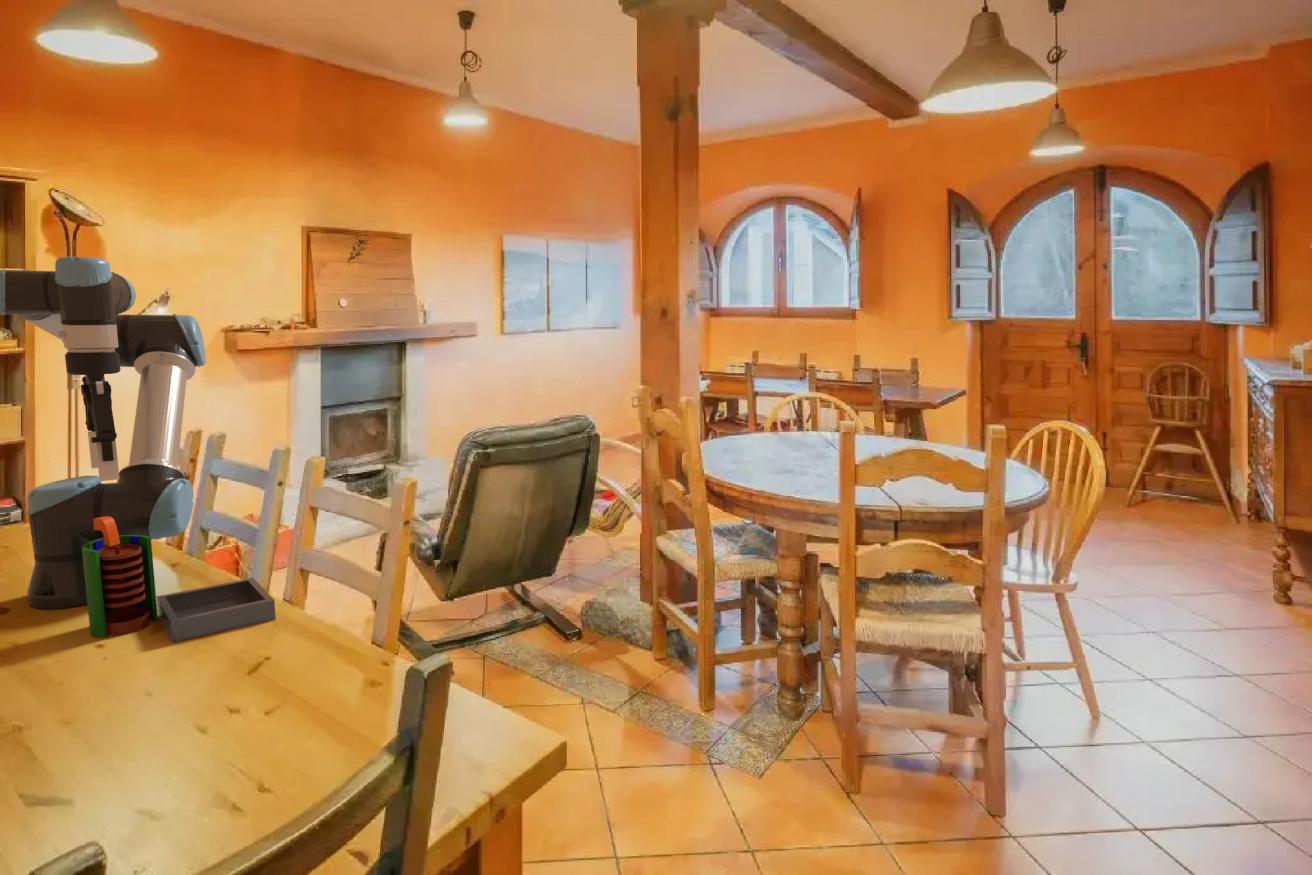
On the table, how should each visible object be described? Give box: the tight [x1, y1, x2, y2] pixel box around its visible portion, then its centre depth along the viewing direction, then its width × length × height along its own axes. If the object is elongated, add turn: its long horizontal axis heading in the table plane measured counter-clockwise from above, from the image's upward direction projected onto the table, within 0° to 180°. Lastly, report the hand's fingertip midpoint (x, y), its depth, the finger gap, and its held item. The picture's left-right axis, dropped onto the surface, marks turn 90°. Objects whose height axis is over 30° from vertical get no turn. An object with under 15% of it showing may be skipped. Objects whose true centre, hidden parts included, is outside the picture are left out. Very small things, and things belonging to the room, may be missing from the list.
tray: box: [156, 577, 277, 644], centre depth 146 cm, size 15×16×4 cm
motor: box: [82, 516, 159, 639], centre depth 140 cm, size 10×9×20 cm
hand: (105, 473), depth 137 cm, fingers open, 13 cm apart
